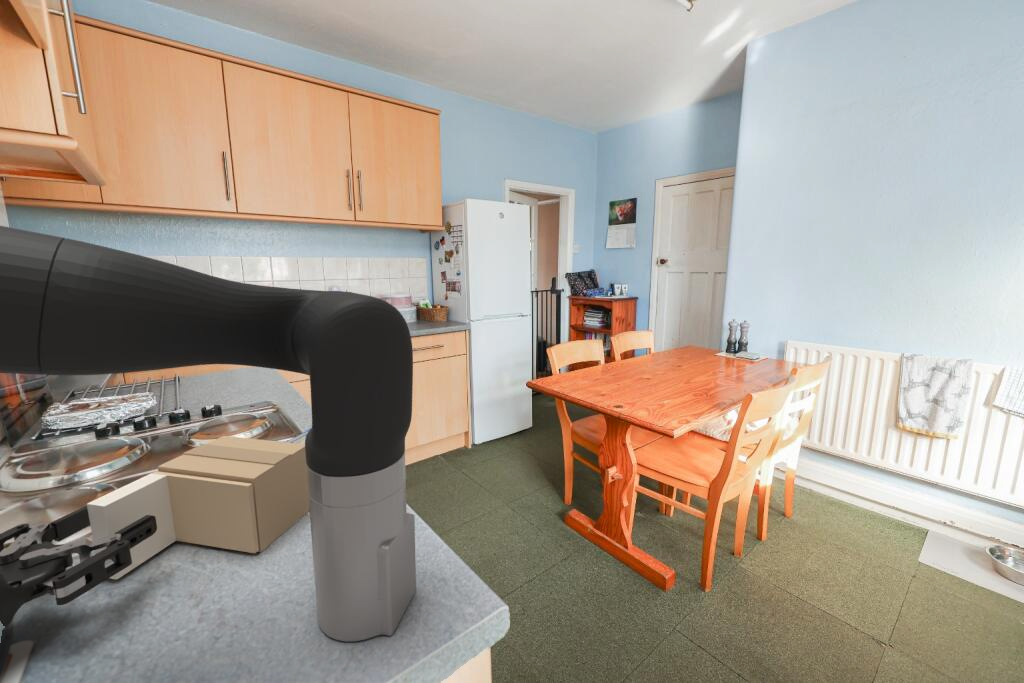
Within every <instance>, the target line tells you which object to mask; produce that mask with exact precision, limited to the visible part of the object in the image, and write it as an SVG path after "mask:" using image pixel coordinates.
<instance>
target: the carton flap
mask: <svg viewBox="0 0 1024 683" xmlns="http://www.w3.org/2000/svg"><path fill="white" fill-rule="evenodd" d="M86 506H87V509H88V514H89V520H90V526H89V527H90V531H91V536H92V541H94V540H97V539H101V538H104V537H107V536H111V535H114V534H115V533H116V532H118V531H119V530H121V529H123V528H125V527H126V526H128V525H130V524H132V523H134V522H135V521H137V520H139V519H141V518H142V517H144V516H146V515H152V516H155V517H156V524H157V530H156V532H155V533H154V534H153V535H152V536H150V537H149V538H147V539H145V540H143V541H142V542H141V543H139V544H137V545H136V546H134V547H132V548H131V549H130V553H131V559H132V564H131V565H130V566H128V567H126V568H125V569H123V570H121V571H120V572H118V573H117V574H115V575H113V576H112V577H110V578H109V579H112V580H115V581H116V580H118V579H120V578H122V577H123V576H124V575H126V574H128V573H129V572H131V571H132V570H134V569H136V568H137V567H138V566H140V565H142V564H143V563H145V562H146V561H147V560H149V559H150V558H152V557H153V556H155V555H156V554H158V553H159V552H161V551H162V550H164V549H165V548H167V547H169V546H170V545H171V544H173V543H175V542H183V543H189V544H194V545H201V546H206V547H207V546H208V547H213V548H220V549H226V550H230V551H231V550H233V551H239V552H244V553H245V552H246V553H250V554H257V553H258V552H257V551H259V547H258V537H257V527H256V517H255V506H254V496H253V486H252V484H251V483H243V482H236V481H228V480H220V479H212V478H205V477H197V476H189V475H182V474H174V473H166V472H159V471H158V470H155V471H153V472H151V473H149V474H146V475H145V476H142V477H140V478H139V479H136V480H134V481H131V482H130V483H128V484H125V485H124V486H121V487H119V488H117V489H115V490H113V491H110V492H109V493H106V494H105V495H102V496H100V497H98V498H96V499H93V500H92V501H89V502H87V503H86ZM106 548H107V547H103V548H100V549H97V550H94V555H95V554H97V553H99V552H101V551H102V550H104V549H106ZM113 563H114V562H113ZM113 563H110V564H107V565H105V568H106V567H108V566H110V565H111V564H113Z"/></svg>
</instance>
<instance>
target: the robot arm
mask: <svg viewBox="0 0 1024 683" xmlns="http://www.w3.org/2000/svg"><path fill="white" fill-rule="evenodd" d="M205 365H208V366H209V365H231V366H232V365H234V366H235V365H236V366H244V367H245V366H246V367H256V368H264V369H265V368H266V369H273V370H278V371H279V370H280V371H286V372H292V373H297V374H302V375H306V376H309V384H310V385H309V388H310V402H311V404H310V405H311V428H309V429H310V431H309V432H308V433H307V435H306V439H305V453H306V464H307V479H308V493H309V508H310V510H309V518H310V519H309V520H310V521H309V522H310V532H311V533H310V534H311V546H312V547H311V549H312V550H311V551H312V561H313V575H314V576H313V577H314V586H315V587H314V588H315V601H316V615H317V616H316V617H317V622H318V626H319V628H320V629H321V631H322V633H324V634H325V635H326V636H327V637H329V638H332V639H334V640H336V641H341V642H358V641H363V640H364V641H365V640H369V639H370V638H374V637H377V636H380V635H384V636H385V635H386V636H392V635H393V634H394V632H395V631H396V629H397V627H398V625H399V623H400V621H401V620H402V618H403V616H404V614H405V612H406V610H407V608H408V607H409V605H410V603H411V601H412V599H413V598H414V596H415V594H416V592H417V570H416V569H417V568H416V566H417V565H416V563H417V562H416V532H415V531H416V527H415V526H416V525H415V523H416V522H415V520H416V519H415V514H413V513H410V512H409V513H408V512H407V487H406V486H407V485H406V484H407V483H406V482H407V481H406V480H407V478H406V476H407V475H406V436H407V433H408V432H409V429H410V426H411V422H412V415H413V389H414V388H413V381H414V376H413V375H414V354H413V343H412V336H411V331H410V328H409V326H408V324H407V320H406V319H405V317H404V316H403V314H402V313H401V312H400V311H399V310H398V309H397V308H396V307H395V306H394V305H393V304H391V303H389V302H388V301H386V300H384V299H381V298H379V297H377V296H371V295H366V294H361V293H357V292H352V291H345V290H344V291H343V290H342V291H341V290H313V289H302V288H291V287H290V288H289V287H279V286H268V285H259V284H252V283H247V282H246V283H245V282H241V281H234V280H230V279H226V278H223V277H222V278H221V277H218V276H214V275H210V274H207V273H204V272H200V271H196V270H193V269H190V268H187V267H183V266H180V265H177V264H173V263H171V262H170V263H169V262H166V261H162V260H159V259H155V258H151V257H147V256H145V255H141V254H140V255H139V254H135V253H131V252H127V251H124V250H121V249H115V248H113V247H107V246H104V245H103V246H102V245H99V244H95V243H91V242H86V241H83V240H82V241H81V240H77V239H72V238H65V237H62V236H56V235H51V234H46V233H40V232H36V231H32V230H31V231H30V230H24V229H20V228H14V227H10V226H9V227H8V226H4V225H0V374H13V375H15V374H17V375H18V374H19V375H20V374H21V375H38V376H40V375H42V376H43V375H45V376H91V375H92V376H95V375H97V376H99V375H113V374H115V375H116V374H126V373H127V374H128V373H136V372H138V373H139V372H147V371H148V372H149V371H159V370H166V369H167V370H168V369H177V368H184V367H192V366H205ZM89 527H91V526H90V520H89V514H88V509H87V505H85V506H83V507H80V508H78V509H76V510H74V511H72V512H70V513H68V514H66V515H64V516H62V517H60V518H57V519H56V520H54V521H51V522H47V521H46V522H41V523H38V524H36V525H34V526H33V527H32V526H31V527H30V524H29V523H22V524H19V525H16V526H14V527H11V528H9V529H8V530H5V531H3V532H1V533H0V621H1V623H2V624H3V626H5V627H6V628H5V629H7V628H8V627H9V625H10V624H11V623H12V622H13V619H14V617H15V615H16V613H18V611H19V610H20V608H21V607H22V606H23V605H24V604H27V603H29V602H31V601H33V600H35V599H38V598H40V597H43V596H45V595H52V596H54V597H55V602H56V605H57V606H65V605H67V604H69V603H71V602H73V601H75V600H76V599H78V598H79V597H81V596H82V595H84V594H86V593H87V592H90V590H92V589H94V588H96V587H97V586H99V585H100V584H102V583H104V582H105V581H107V580H108V579H111V578H110V577H112V576H113V575H115V574H117V573H118V572H120V571H121V570H123V569H125V568H126V567H128V566H130V565H131V564H132V559H131V553H130V549H131V548H132V547H134V546H136V545H137V544H139V543H141V542H142V541H143V540H145V539H147V538H149V537H150V536H152V535H153V534H154V533H155V532H156V530H157V524H156V517H155V516H152V515H146V516H144V517H142V518H141V519H139V520H137V521H135V522H134V523H132V524H130V525H128V526H126V527H125V528H123V529H121V530H119V531H118V532H116V533H115V534H114V535H111V536H107V537H104V538H101V539H97V540H94V541H93V540H91V539H88V538H81V539H78V540H76V541H72V542H69V543H65V544H54V541H55V542H58V543H59V542H61V541H64V540H65V539H67V538H69V537H71V536H72V535H75V534H76V533H77V534H78V533H79V532H81V531H83V530H85V529H86V528H89ZM11 539H14V540H13V542H12V543H11V544H9V546H8V547H5V543H6V542H7V541H9V540H11ZM103 547H107V548H106V549H104V550H102V551H101V552H99V553H97V554H95V553H94V555H92V552H95V550H97V549H100V548H103ZM73 553H74V554H77V555H78V556H79V557H78V558H79V563H77V564H75V565H74V566H73V564H74V560H73ZM113 562H114V563H113ZM110 563H113V564H111V565H110V566H108V567H106V568H105V565H107V564H110Z"/></svg>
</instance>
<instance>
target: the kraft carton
mask: <svg viewBox="0 0 1024 683" xmlns="http://www.w3.org/2000/svg"><path fill="white" fill-rule="evenodd" d="M286 442H287V441H286ZM286 442H285V441H276V440H266V439H258V438H249V437H239V436H232V435H231V436H228V435H223V436H221V437H218V438H216V439H214V440H211V441H209V442H208V443H202V444H200V445H198V446H195V447H192V448H191V449H189V450H187V451H185V452H183V453H182V454H181V455H179V456H177V457H174V458H173V459H170V460H168V461H166V462H164V463H161V464H160V465H157V471H159V472H166V473H174V474H182V475H189V476H197V477H205V478H212V479H220V480H228V481H236V482H243V483H251V484H252V486H253V496H254V506H255V517H256V527H257V537H258V547H259V551H257V552H256V553H262V552H263V551H265V549H267V548H268V547H269V546H270V545H272V543H273V542H275V541H276V540H277V539H278V538H280V537H281V536H282V535H283V534H284V533H285V532H286V531H288V530H289V529H290V528H291V527H292V526H293V525H294V524H296V523H297V522H298V521H299V520H301V518H302V517H305V515H306V514H307V513H308V512H310V508H309V493H308V479H307V464H306V453H305V444H295V443H286Z"/></svg>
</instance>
